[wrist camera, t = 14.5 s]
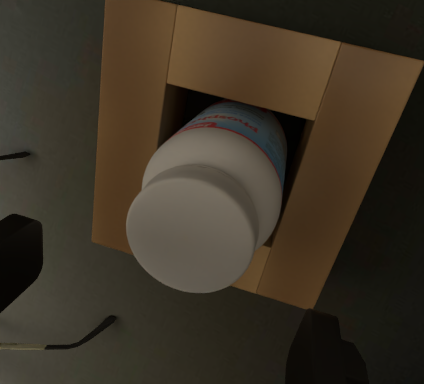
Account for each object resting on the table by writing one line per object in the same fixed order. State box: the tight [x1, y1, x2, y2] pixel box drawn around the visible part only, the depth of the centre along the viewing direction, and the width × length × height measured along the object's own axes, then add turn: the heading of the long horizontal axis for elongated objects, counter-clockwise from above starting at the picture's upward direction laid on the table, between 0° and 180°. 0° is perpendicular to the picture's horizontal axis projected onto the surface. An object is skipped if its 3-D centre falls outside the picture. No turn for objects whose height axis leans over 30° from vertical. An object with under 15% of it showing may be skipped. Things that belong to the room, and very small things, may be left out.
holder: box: [92, 0, 424, 309], centre depth 20 cm, size 14×14×4 cm
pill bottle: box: [126, 99, 287, 293], centre depth 17 cm, size 6×6×11 cm
